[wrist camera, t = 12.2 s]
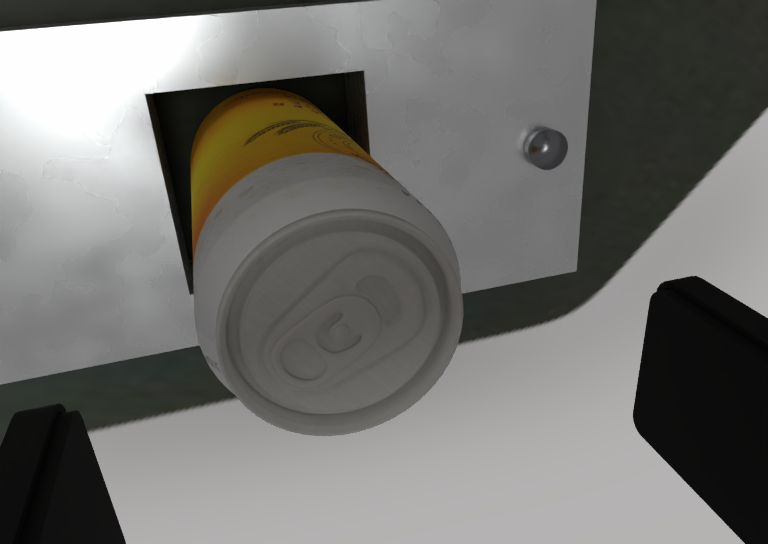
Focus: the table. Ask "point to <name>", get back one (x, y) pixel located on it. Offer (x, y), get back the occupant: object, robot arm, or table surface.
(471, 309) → the table surface
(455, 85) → the gray block with hole
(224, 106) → the beer can
